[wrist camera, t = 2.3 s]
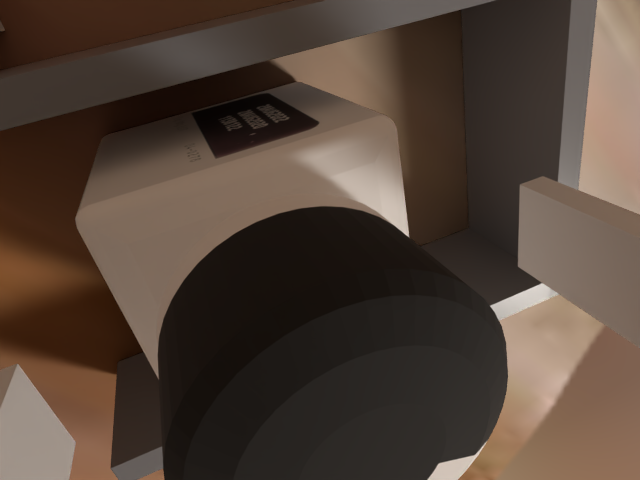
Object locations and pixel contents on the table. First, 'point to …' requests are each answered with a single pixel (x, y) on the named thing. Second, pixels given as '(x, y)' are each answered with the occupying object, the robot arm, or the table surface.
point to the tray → (1, 27)
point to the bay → (330, 27)
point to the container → (290, 295)
